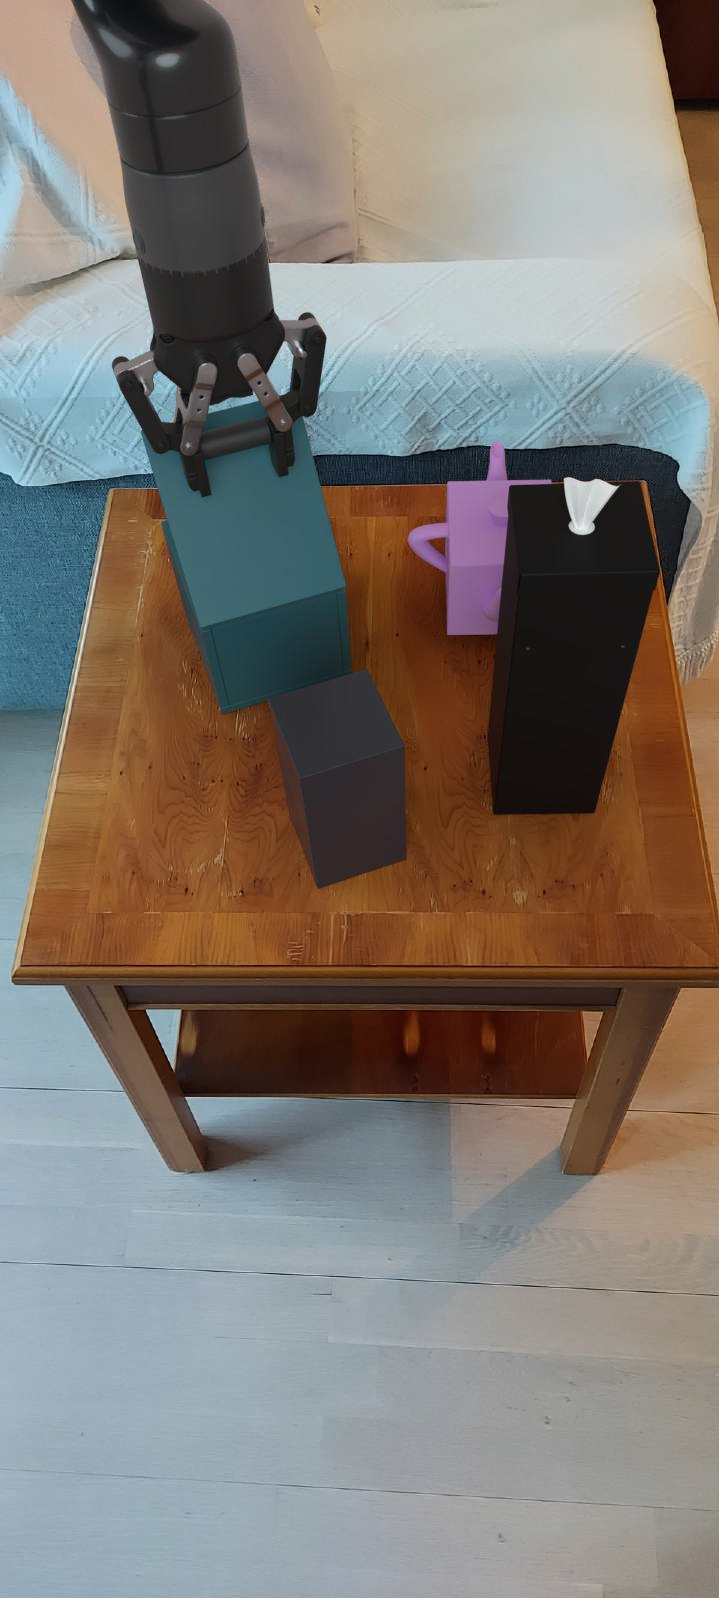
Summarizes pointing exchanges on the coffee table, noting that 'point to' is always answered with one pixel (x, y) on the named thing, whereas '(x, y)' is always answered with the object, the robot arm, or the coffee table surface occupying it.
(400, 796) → the stand
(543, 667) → the tissue box
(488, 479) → the teapot
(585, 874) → the coffee table surface
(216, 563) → the case lid
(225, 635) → the wipes case
